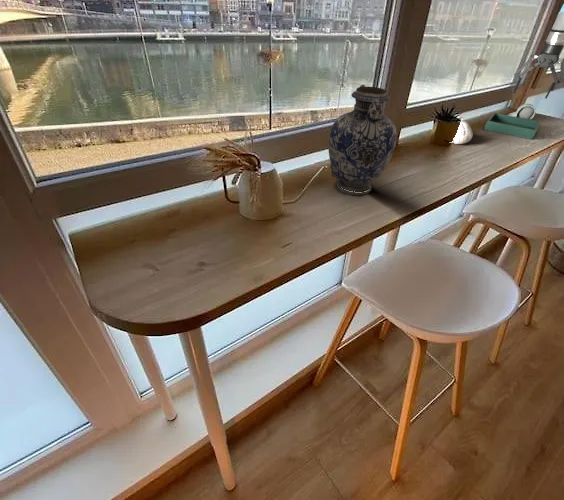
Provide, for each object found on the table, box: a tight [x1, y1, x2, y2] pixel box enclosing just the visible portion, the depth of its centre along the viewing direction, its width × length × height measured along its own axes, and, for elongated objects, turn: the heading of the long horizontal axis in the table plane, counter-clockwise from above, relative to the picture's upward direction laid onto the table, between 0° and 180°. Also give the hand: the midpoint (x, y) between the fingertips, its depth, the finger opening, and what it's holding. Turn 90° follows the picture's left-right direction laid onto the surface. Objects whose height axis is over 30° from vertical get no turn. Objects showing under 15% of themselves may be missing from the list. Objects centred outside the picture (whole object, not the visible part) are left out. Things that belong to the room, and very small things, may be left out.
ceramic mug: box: [507, 103, 537, 120], centre depth 162 cm, size 11×8×8 cm
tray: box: [483, 112, 541, 140], centre depth 150 cm, size 20×18×4 cm
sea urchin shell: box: [450, 119, 474, 145], centre depth 135 cm, size 13×14×8 cm
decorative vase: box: [327, 84, 398, 196], centre depth 92 cm, size 21×19×28 cm
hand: (529, 95), depth 157 cm, fingers open, 13 cm apart
